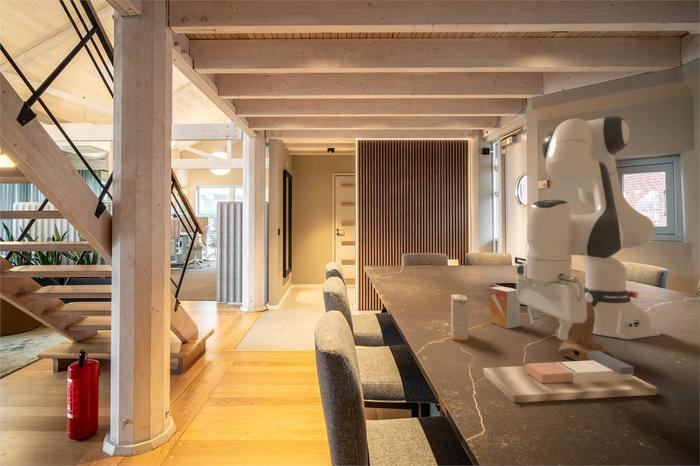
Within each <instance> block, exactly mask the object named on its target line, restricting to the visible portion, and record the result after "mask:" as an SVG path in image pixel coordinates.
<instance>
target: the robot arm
mask: <svg viewBox="0 0 700 466" xmlns="http://www.w3.org/2000/svg"><path fill="white" fill-rule="evenodd" d="M629 138H630V128H629V126H628V124H627V122H626V121H625V119H624V118H623V117H621V116H620V115H612V116H611V115H610V116H605V117H604V118H597V119H590V120H584V119H582V118H569V119H566V120H564V121H562V122H561V123H560V124H558V125H557V127H556V128H555V130H553V131H550V132H549V133H546V135H545V136H544V138H543V139H542V141H541V145H542V147H541V151H542V154H543V157H544V159H545V170H546V173H547V174H548V176H549V177H550V178H551V179H552V180H553V181H554V182H556V183H558V184H560V185H563V186H565V187H572V188H576V189H577V191H578V196H579V199H580V201H581V202H582V203H583V204H584V205H585V206H587V207H591V208H592V209H594V210H595V212H593V213H589V214H571V211H570V204H569V202H568V201H566V200H564V199H544V200H538V201H535V202H533V203H532V204H530V208H529V212H528V213H529V214H528V219H527V227H526V229H527V230H526V231H527V232H526V235H527V236H526V239H527V243H528V251H527V252H528V253H527V255H526V262H523V263H521V264H518V265H516V266H515V274H516V275H517V277H516V289H517V298H518V300H519V302H520V304H522V305H524V306H527V312H528V315H529V318H530V325H531V326H533V327H537V328H538V327H540V328H541V327H542V318H540V316H539V312H543V313H544V314H546V315H549V316H552V317H555V318H556V319H557V318H559V321H558V324H559V323H560V324H559V327H558V328H557V329H555V337H556V338H557V339H559V340H562V341H564V340H566V339H568V331H569V330H570V328H571V326H572V323H583V322H585V320H586V319H587V305H586V300H587V301H590V302H591V303H592V305H593V308H594V315H595V323H594V328H593V334H594V335H599V336H603V337H612V338H618V339H621V340H634V339H640V338H641V339H643V338H649V337H657V336H661V331H660V330H658V329H657V328H654V327H652V322H651V317H650V316H649V314H648V313H647V312H646V311H644V310H643V309H641V307H639V306H637V305H636V304H635V303H634V302H633V301H632V300H631V299H632V298H633V299H637V298H638V297H639V293H638V292H637V291H633V290H630V291H628V290H627V287H626V285H627V280H626V279H627V269H626V267H625V265H624V264H623V263H622V262H621V261H620V260H618V259H617V258H614V257H613V256H614V255H615V254H617V253H618V252H620V251H621V250H622V249H633V248H635V249H636V248H642V247H643V248H644V247H647V246H648V245H649V244H650V243H651V242H652V241H653V239H654V237H655V232H656V229H655V225H654V222H653V221H652V219H650V218H649V217H648V216H646V215H645V214H642V213H640V212H638V211H637V210H636V209H635V208H633V207H632V205H630V204H629V202H628V201H627V199H626V198H625V196H624V194H623V192H622V188H621V184H620V180H619V174H618V168H617V162H616V159H615V156H616V155H617V153H619V152H620V151H622V150H623V149H625V147H626V146H627V144H628V141H629ZM572 256H581V259H582V261H583V265H584V278H585V279H584V281H585V284H584V287H583V284H582V283H581V282H580V281H579V278H577V277H576V276H572Z"/></svg>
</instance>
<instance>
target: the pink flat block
mask: <svg viewBox="0 0 700 466" xmlns="http://www.w3.org/2000/svg"><path fill="white" fill-rule="evenodd" d="M525 366H526V372H527V373H528V374H530V375H531V376H532V377H534V378H535V379H536V380H538V381H539V382H541V383H558V382H572V373H571V372H570V371H568V370H566V369H565V368H563V367H561V366H560V365H558V364H557V363H556V362H535V363H534V362H533V363H532V362H531V363H526V365H525Z"/></svg>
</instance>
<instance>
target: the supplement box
mask: <svg viewBox="0 0 700 466" xmlns="http://www.w3.org/2000/svg"><path fill="white" fill-rule="evenodd" d="M468 304H469V300H468V298H467V296H466V294H451V295H450V333H451V337H452V340H453V341H461V342H463V341H464V342H467V341H469V305H468Z"/></svg>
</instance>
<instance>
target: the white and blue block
mask: <svg viewBox="0 0 700 466" xmlns="http://www.w3.org/2000/svg"><path fill="white" fill-rule="evenodd" d="M587 357H588V358H590V359H592V360H591V361H577V360H573V361H556V362H555V363H557V364H558V365H560V366H561V367H563V368H565V369H566V370H568V371H570V372H571V373H572V383H583V382H602V381H621V380H632V375H634V374H635V366H633V365H630V364H628V363H626V362H624V361H622V360H621V359H618V358H615V357H613V356H612V355H609V354H606V353H605V352H600V351H587Z"/></svg>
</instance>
